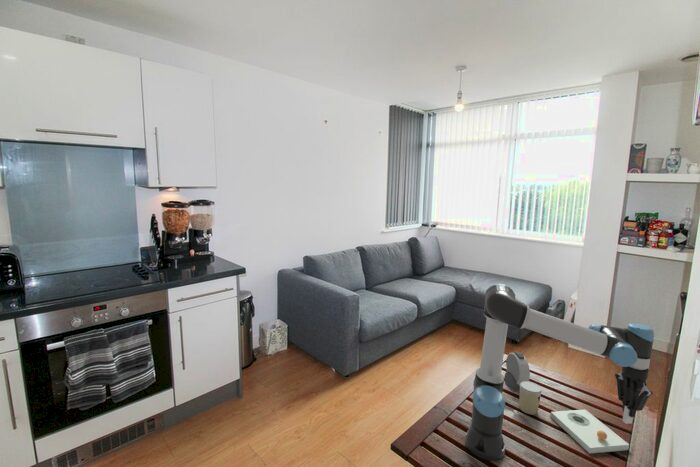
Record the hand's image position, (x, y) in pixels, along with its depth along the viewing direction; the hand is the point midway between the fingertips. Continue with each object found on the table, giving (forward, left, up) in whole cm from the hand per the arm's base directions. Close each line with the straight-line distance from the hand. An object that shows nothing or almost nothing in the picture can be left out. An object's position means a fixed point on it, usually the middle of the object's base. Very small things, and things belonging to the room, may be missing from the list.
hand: (627, 422), depth 129 cm
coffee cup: (-16, +33, -17) cm, 41 cm away
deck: (0, +16, -17) cm, 24 cm away
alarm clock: (-9, +53, -17) cm, 57 cm away
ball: (0, +9, -13) cm, 16 cm away
